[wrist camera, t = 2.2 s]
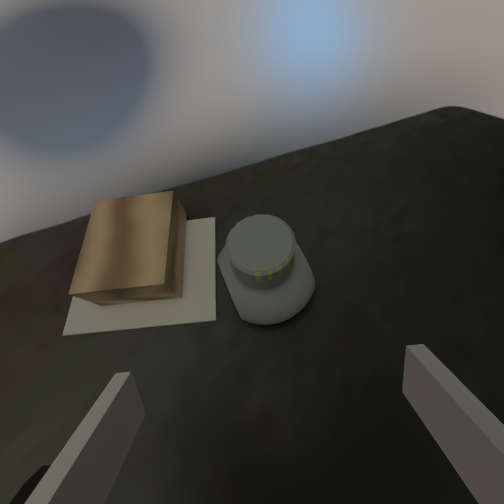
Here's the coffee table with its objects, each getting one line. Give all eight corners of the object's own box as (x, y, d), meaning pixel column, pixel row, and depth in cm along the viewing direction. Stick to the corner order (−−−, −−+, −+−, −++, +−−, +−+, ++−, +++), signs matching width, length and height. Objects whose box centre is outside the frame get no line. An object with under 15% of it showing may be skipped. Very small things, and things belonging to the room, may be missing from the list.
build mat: (215, 218, 33) (214, 217, 33) (216, 320, 27) (215, 320, 27) (92, 234, 34) (90, 232, 34) (65, 335, 28) (62, 335, 28)
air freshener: (319, 308, 26) (341, 277, 18) (252, 340, 26) (238, 324, 17) (276, 233, 31) (276, 178, 22) (218, 258, 31) (194, 211, 22)
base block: (186, 214, 34) (173, 190, 29) (182, 297, 28) (164, 283, 24) (118, 223, 34) (94, 201, 30) (101, 306, 29) (68, 294, 24)
